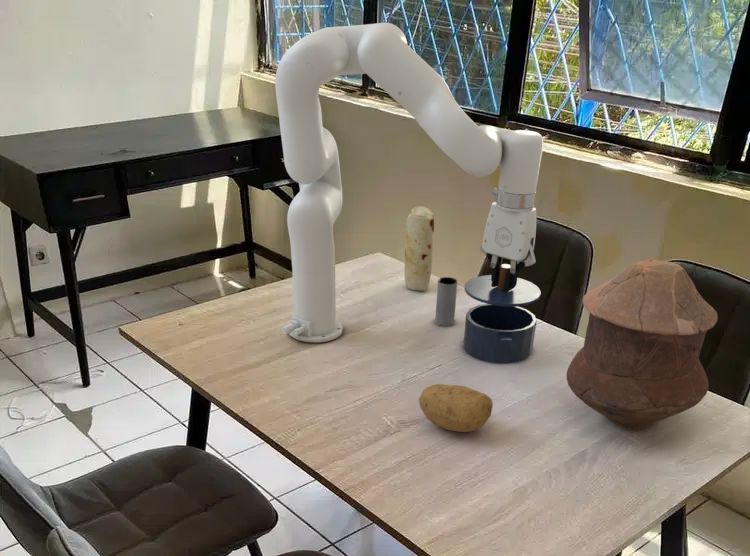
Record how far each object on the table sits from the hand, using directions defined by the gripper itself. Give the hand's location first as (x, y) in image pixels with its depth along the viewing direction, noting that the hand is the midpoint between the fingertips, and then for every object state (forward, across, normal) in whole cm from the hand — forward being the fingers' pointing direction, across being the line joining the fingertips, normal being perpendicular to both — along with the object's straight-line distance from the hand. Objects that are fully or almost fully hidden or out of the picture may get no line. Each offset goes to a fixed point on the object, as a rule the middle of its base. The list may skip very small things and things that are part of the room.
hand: (503, 286), depth 166 cm
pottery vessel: (+14, +36, -10) cm, 39 cm away
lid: (+1, 0, 0) cm, 1 cm away
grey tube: (+15, -16, +4) cm, 22 cm away
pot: (+14, +1, 0) cm, 14 cm away
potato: (+15, +12, -35) cm, 39 cm away
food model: (+15, -34, +18) cm, 42 cm away
